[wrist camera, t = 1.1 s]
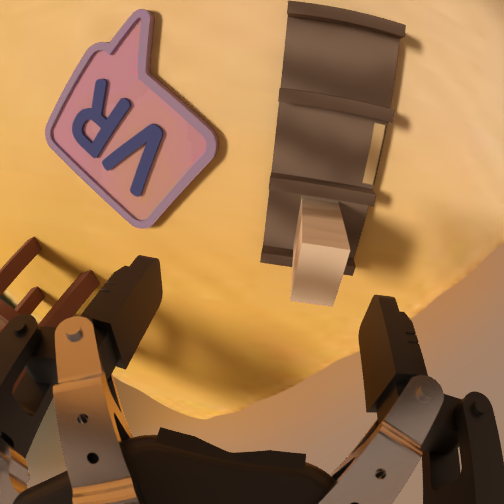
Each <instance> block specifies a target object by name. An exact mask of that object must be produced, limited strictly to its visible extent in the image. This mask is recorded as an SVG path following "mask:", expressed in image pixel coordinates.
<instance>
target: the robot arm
mask: <svg viewBox="0 0 504 504" xmlns="http://www.w3.org/2000/svg"><path fill="white" fill-rule="evenodd" d="M162 293H163V291H162V281H161V270H160V262H159V259H157V258H152V257H147V256H141V255H139V256H137V258H136V259H135V260H134V261H133V263H132V264H131V265H130V266H124V267H122V268H121V269H119V270H117V271H116V272H114V273H113V275H112V276H111V277H110V278H109V280H108V281H107V283H105V285H104V286H103V287H102V288H101V290H100V291H99V292H98V294H97V295H96V296H95V297H94V299H93V300H92V301H91V303H90V304H89V305H88V307H87V308H86V309H85V311H84V312H83V313H82V315H81V316H75V317H70V318H68V319H65V320H64V321H62V322H61V323H60V324H59V325H58V327H42V326H38V324H37V322H36V319H35V318H34V317H33V316H32V315H29V314H21V315H18V316H16V317H14V318H12V319H11V320H10V321H9V322H8V323H7V325H6V326H5V327H4V329H3V330H2V331H1V333H0V504H392V503H393V502H394V500H395V499H396V497H397V496H398V494H399V493H400V491H401V490H402V488H403V487H404V485H405V484H406V482H407V480H408V479H409V477H410V476H411V474H412V472H413V471H414V469H415V467H416V465H417V464H418V462H419V460H420V458H421V456H422V468H423V504H504V462H503V456H502V450H501V445H500V440H499V434H498V430H497V425H496V421H495V416H494V413H493V408H492V405H491V403H490V401H489V400H488V398H487V397H486V396H485V395H483V394H481V393H479V392H470V393H469V394H467V395H466V396H465V398H463V399H458V398H455V397H452V396H449V395H446V394H444V393H443V390H442V388H441V386H440V384H439V383H438V382H437V381H436V380H435V379H433V378H431V377H429V376H428V374H427V371H426V367H425V363H424V359H423V356H422V353H421V349H420V346H419V344H418V339H417V336H416V335H415V329H414V326H413V323H412V321H411V320H410V319H409V317H408V316H407V315H406V314H405V312H399V309H398V305H397V302H396V299H395V298H394V297H390V296H382V295H374V296H373V298H372V300H371V302H370V305H369V307H368V309H367V312H366V314H365V316H364V318H363V321H362V323H361V326H360V329H359V346H360V354H361V362H362V371H363V379H364V389H365V400H366V411H367V412H377V417H378V419H377V420H376V421H375V422H374V424H373V425H372V427H371V428H370V429H369V431H368V432H367V433H366V434H365V436H364V437H363V438H362V440H361V441H360V442H359V443H358V445H357V446H356V447H355V448H354V450H353V451H352V452H351V453H350V454H349V456H348V457H347V458H346V459H345V460H344V461H343V462H342V463H341V464H340V465H339V467H337V468H336V469H335V470H334V472H333V473H332V474H331V475H329V474H327V473H326V472H325V471H323V470H322V469H320V468H318V467H316V466H314V465H312V464H309V463H306V462H305V460H306V454H301V453H290V452H280V451H272V450H268V451H256V452H241V453H231V452H227V451H224V450H222V449H220V448H218V447H216V446H214V445H211V444H209V443H207V442H205V441H203V440H201V439H199V438H197V437H195V436H191V435H187V434H183V433H179V432H175V431H172V430H168V429H165V428H160V430H159V433H158V435H144V436H137V437H133V436H132V433H131V431H130V429H129V426H128V424H127V422H126V419H125V416H124V413H123V410H122V407H121V404H120V400H119V397H118V393H117V390H116V386H115V382H114V379H113V375H112V372H113V370H114V368H115V366H117V367H120V368H123V369H126V368H127V366H128V364H129V362H130V360H131V358H132V357H133V355H134V353H135V351H136V349H137V347H138V345H139V343H140V341H141V339H142V337H143V336H144V334H145V332H146V330H147V328H148V326H149V324H150V322H151V321H152V319H153V317H154V315H155V313H156V311H157V310H158V308H159V306H160V303H161V300H162ZM24 368H25V369H26V372H25V374H24V376H23V377H22V379H21V381H20V383H19V384H18V386H17V388H16V390H15V391H14V393H12V391H13V386H14V384H15V383H16V381H17V379H18V377H19V376H20V374H21V372H22V371H23V369H24ZM53 397H54V404H55V412H56V418H57V424H58V430H59V435H60V441H61V445H62V450H63V455H64V459H65V463H66V467H67V471H65V472H63V473H61V474H59V475H57V476H55V477H53V478H50V479H48V480H46V481H44V482H42V483H40V484H37V485H35V486H33V487H30V488H28V489H27V484H26V483H27V482H28V481H29V480H30V474H29V472H28V466H27V463H26V460H25V458H26V455H27V453H28V451H29V448H30V446H31V444H32V441H33V439H34V437H35V434H36V432H37V430H38V428H39V426H40V423H41V421H42V419H43V417H44V415H45V413H46V410H47V409H48V407H49V405H50V403H51V401H52V398H53ZM458 447H460V454H461V464H462V470H461V474H460V464H459V455H458Z"/></svg>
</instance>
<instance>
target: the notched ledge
mask: <svg viewBox="0 0 504 504" xmlns="http://www.w3.org/2000/svg"><path fill="white" fill-rule="evenodd" d="M287 14H288V20H287V30H286V40H285V50H284V60H283V70H282V80H281V88H280V90H279V100H278V102H279V108H278V118H277V127H276V136H275V145H274V154H273V163H272V172H271V176H270V183H269V199H268V207H267V216H266V225H265V233H264V242H263V248H262V253H261V261H260V262H262V263H268V264H275V265H282V266H289V267H292V265H293V248H294V240H295V234H296V228H297V222H298V217H299V211H300V205H301V199H302V195H303V196H310V197H316V198H322V199H328V200H334V201H338V203H339V207H340V210H341V214H342V218H343V222H344V226H345V230H346V234H347V238H348V242H349V246H350V253H349V257H348V260H347V263H346V267H345V270H344V273H343V274H344V275H351V276H353V273H354V269H355V263H354V256H355V252H356V249H357V246H358V242H359V239H360V236H361V232H362V228H363V225H364V221H365V218H366V214H367V210H368V206H373V205H374V202H375V198H376V194H375V192H374V190H373V187H374V183H375V178H376V174H377V170H378V165H379V161H380V156H381V152H382V147H383V142H384V137H385V132H386V127H387V122H391V123H392V122H393V117H394V111H395V110H393V109H391V108H390V105H391V99H392V92H393V86H394V79H395V72H396V64H397V56H398V47H399V39H400V38H403V37H405V28H406V25H404V24H401V23H397V22H394V21H391V20H387V19H384V18H380V17H376V16H373V15H369V14H364V13H360V12H356V11H351V10H347V9H342V8H336V7H331V6H325V5H319V4H312V3H305V2H296V1H288V10H287Z"/></svg>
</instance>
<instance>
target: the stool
mask: <svg viewBox="0 0 504 504" xmlns="http://www.w3.org/2000/svg"><path fill="white" fill-rule="evenodd" d="M41 250H42V249H41V247H40V246H39V244H38V242H37V241H36V239H35V237H33V238H31V239H29V240H27V241H26V242H25V243H24V244H23V246H22V247H21V248H20V249H19V250H18V251H17V252H16V253H15V254H14V255H13V256H12V257H11V258H10V259H9V260H8V262H7V263H6V264H5V265H4V266H3V267H2V268H1V269H0V296H1V295H2V293H3V292H4V291H5V290H6V289H7V287H8V286H9V285H10V284H11V283H12V282H13V280H14V279H15V278H16V277H17V276H18V275H19V274H20V272H21V271H22V270H23V269H24V268H25V267H26V266H27V265H28V264H29V262H30V261H31V260H32V259H33V258H34V257H35V256H36V255H37V254H38V253H39V252H40V251H41ZM99 284H100V283H99V281H98V280H97V278H96V277H95V275H94V274H93V272H92V271H91V270H90V271H87V272H83V273H81V274H80V275H79V276H78V278H77V279H76V280H75V281H74V282H73V283H72V284H71V286H70V287H69V288H68V289H67V290H66V291H65V293H64V294H63V295H62V296H61V297H60V299H59V300H58V301H57V302H56V303H55V305H54V306H53V307H52V308H51V310H50V311H49V312H48V313H47V315H46V316H45V317H44V318H43V320H42V321H41V322H40V323H39V325H38V326H42V327H58V325H59V324H60V323H61V322H62V321H64V320H65V319H68V318H70V317H73V315H74V314H75V313H76V312H77V310H78V309H79V308H80V307H81V305H82V304H83V303H84V302H85V301H86V299H87V298H88V297H89V296H90V294H91V293H92V292H93V291H94V290H95V289H96V287H97V286H98V285H99ZM44 297H45V296H44V295H43V294H42V292H41V291H40V289H39V288H38V287H34V288H32V289H31V290H30V291H29V292H28V293H27V295H26V296H25V297H24V298H23V299H22V301H21V302H20V303H19V304H18V306H17V307H16V308H15V309H13V308H12V307H11V306H9V305H8V304H7V303H5V302H4V301H3V300H1V299H0V319H1V320H3V321H4V324H3V325H2V326H1V327H0V333H1V331H2V330H3V329H4V327H5V326H6V325H7V323H8V322H9V321H10V320H11V319H12V318H14V317H16V316H18V315H21V314H29V315H31V313H32V312H33V311H34V310H35V308H36V307H37V306H38V305H39V303H40V302H41V301H42V300H43V299H44ZM25 372H26V369H25V368H24V369H23V371H22V372H21V374H20V376H19V377H18V379H17V381H16V383H15V384H14V386H13V391H12V393H14V391H15V390H16V388H17V386H18V384H19V383H20V381H21V379H22V377H23V376H24V374H25Z"/></svg>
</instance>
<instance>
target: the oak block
mask: <svg viewBox="0 0 504 504" xmlns="http://www.w3.org/2000/svg"><path fill="white" fill-rule="evenodd" d="M349 253H350V246H349V242H348V238H347V234H346V230H345V226H344V222H343V218H342V214H341V210H340V207H339V203H338V201H334V200H328V199H322V198H316V197H310V196H303V195H302V199H301V205H300V211H299V217H298V222H297V228H296V234H295V240H294V248H293V265H292V281H291V296H290V301H294V302H301V303H309V304H316V305H324V306H331V307H333V304H334V301H335V298H336V295H337V292H338V289H339V286H340V283H341V280H342V276H343V273H344V270H345V267H346V263H347V260H348V257H349Z"/></svg>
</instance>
